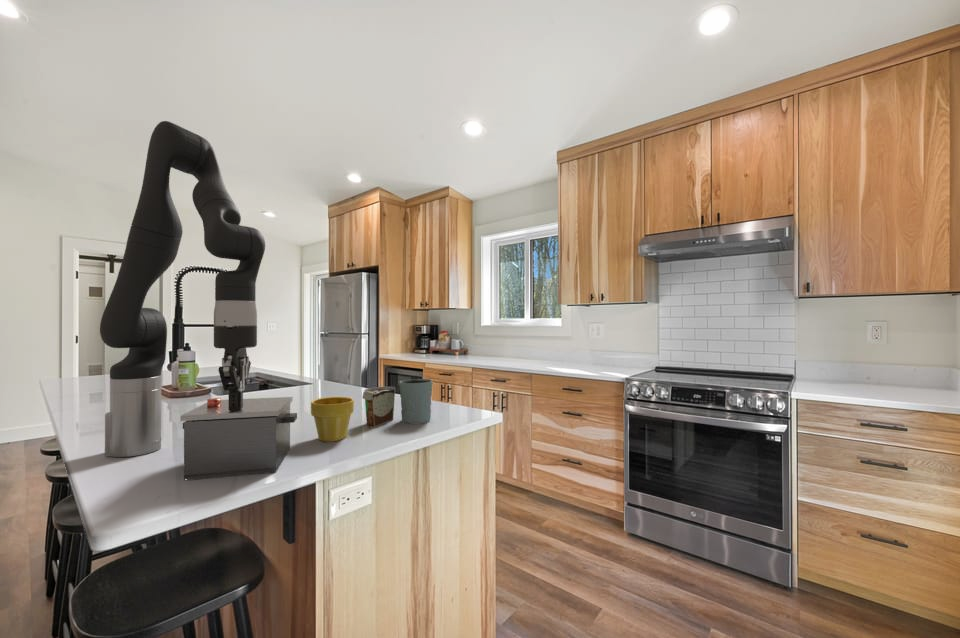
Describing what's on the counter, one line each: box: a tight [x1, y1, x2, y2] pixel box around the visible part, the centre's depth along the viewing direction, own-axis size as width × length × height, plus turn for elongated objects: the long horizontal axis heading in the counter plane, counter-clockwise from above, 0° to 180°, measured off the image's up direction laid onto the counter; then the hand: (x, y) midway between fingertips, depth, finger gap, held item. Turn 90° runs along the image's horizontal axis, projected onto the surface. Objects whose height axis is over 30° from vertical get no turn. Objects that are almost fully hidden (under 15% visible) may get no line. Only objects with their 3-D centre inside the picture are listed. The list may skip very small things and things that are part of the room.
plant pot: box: [310, 396, 355, 443], centre depth 109 cm, size 10×10×10 cm
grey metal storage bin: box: [182, 403, 298, 481], centre depth 90 cm, size 21×16×11 cm
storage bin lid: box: [179, 396, 294, 422], centre depth 90 cm, size 17×16×2 cm
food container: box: [362, 386, 397, 428], centre depth 125 cm, size 12×6×10 cm, turn 157°
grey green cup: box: [398, 378, 433, 425], centre depth 128 cm, size 10×10×12 cm
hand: (235, 410), depth 84 cm, fingers closed
